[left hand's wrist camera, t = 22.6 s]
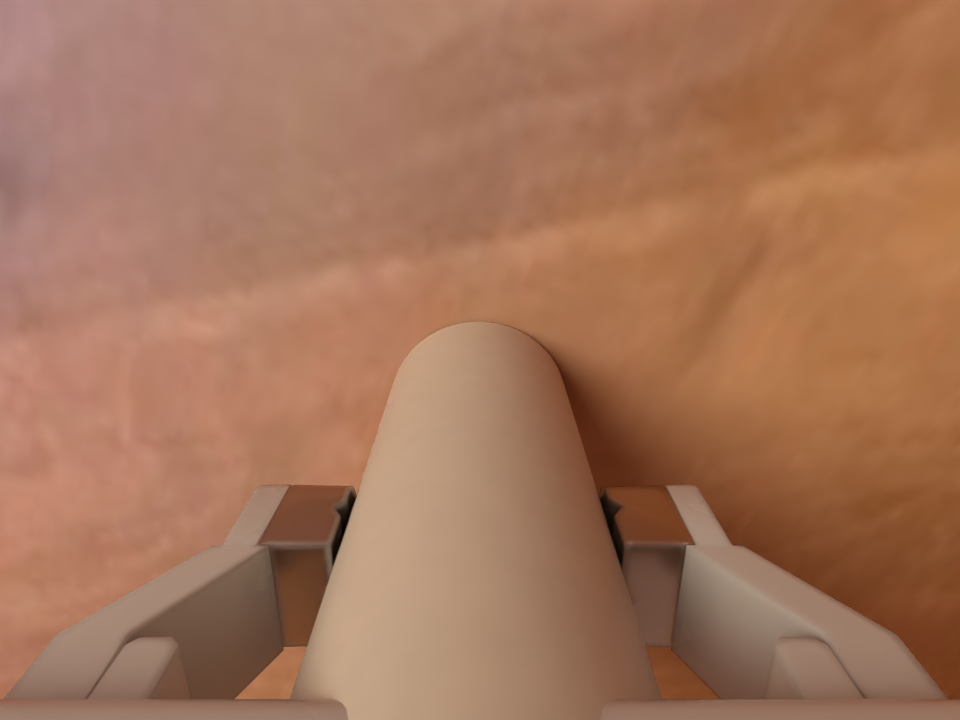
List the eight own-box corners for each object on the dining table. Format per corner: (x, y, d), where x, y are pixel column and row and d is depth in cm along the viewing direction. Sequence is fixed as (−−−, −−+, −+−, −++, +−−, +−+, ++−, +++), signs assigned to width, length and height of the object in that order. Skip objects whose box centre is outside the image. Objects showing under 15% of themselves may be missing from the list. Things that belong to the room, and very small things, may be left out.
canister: (515, 501, 15) (564, 1066, 6) (365, 437, 15) (175, 962, 6) (597, 367, 14) (812, 831, 5) (436, 290, 13) (343, 662, 4)
